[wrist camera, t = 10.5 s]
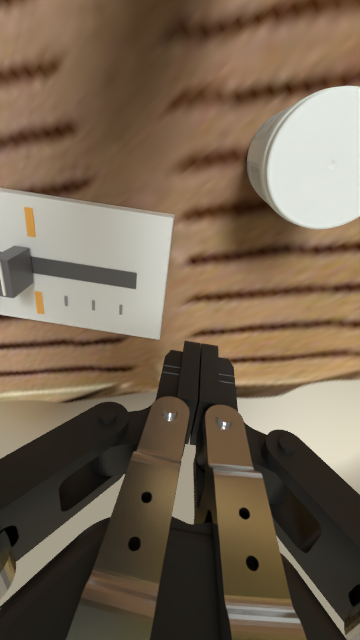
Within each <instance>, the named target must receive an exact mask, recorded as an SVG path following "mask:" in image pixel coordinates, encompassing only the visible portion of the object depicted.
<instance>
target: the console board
mask: <svg viewBox="0 0 360 640" xmlns="http://www.w3.org/2000/svg"><path fill="white" fill-rule="evenodd" d="M174 219H175V215H174V214H167V213H161V212H154V211H148V210H141V209H135V208H128V207H122V206H115V205H109V204H102V203H96V202H89V201H83V200H76V199H70V198H64V197H57V196H51V195H44V194H38V193H31V192H25V191H18V190H12V189H5V188H0V253H1V252H3V251H5V250H7V249H9V248H11V247H13V246H20V247H26V248H29V250H30V258H31V266H32V274H33V282H34V283H33V284H31V285H30V286H29V287H27V288H26V289H25V290H24V291H22V292H21V293H20V294H19V295H17V296H16V297H15V298H8V297H1V296H0V315H6V316H12V317H19V318H25V319H31V320H37V321H44V322H50V323H56V324H63V325H69V326H75V327H82V328H88V329H94V330H100V331H107V332H113V333H119V334H126V335H132V336H138V337H145V338H151V339H157V340H159V339H160V335H161V330H162V321H163V313H164V304H165V296H166V287H167V279H168V270H169V262H170V253H171V245H172V236H173V228H174Z"/></svg>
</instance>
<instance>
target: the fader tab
mask: <svg viewBox="0 0 360 640" xmlns="http://www.w3.org/2000/svg"><path fill="white" fill-rule="evenodd" d="M33 283H34V282H33V274H32V266H31V258H30V250H29V248H26V247H20V246H13V247H11V248H9V249H7V250H5V251H3V252H1V253H0V296H1V297H8V298H15V297H16V296H17V295H19V294H20V293H21V292H22V291H24V290H25V289H26V288H27V287H29V286H30V285H31V284H33Z"/></svg>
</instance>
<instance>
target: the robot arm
mask: <svg viewBox="0 0 360 640" xmlns="http://www.w3.org/2000/svg"><path fill="white" fill-rule="evenodd" d="M200 347H201V348H200ZM190 433H191V435H190ZM189 438H190V444H191V445H196V454H195V458H194V463H193V472H194V525H191V524H187V523H185V522H183V521H181V520H179V519H177V518H174V517H172V511H173V506H174V500H175V494H176V489H177V483H178V478H179V472H180V466H181V459H182V456H183V451H184V447H185V444H188V442H189ZM123 474H125V477H124V480H123V483H122V486H121V489H120V492H119V495H118V498H117V501H116V504H115V506H114V509H113V513H112V515H111V517H109V518H106V519H104V520H101V521H99V522H97V523H95V524H93V525H92V526H90V527H89V528H87V529H86V530H84V531H83V532H82V533H81V534H80V535H78V536H77V537H76V538H75V539H74V540H73V541H72V542H71V543H70V544H69V545H68V546H66V547H65V548H64V549H63V550H62V551H61V552H60V553H59V554H58V555H56V556H55V557H54V558H53V559H52V560H51V561H50V562H49V563H48V564H47V565H46V566H44V567H43V568H42V569H41V570H40V571H39V572H38V573H37V574H36V575H34V576H33V577H32V578H31V579H30V580H29V581H28V582H27V583H26V584H25V585H24V586H22V587H21V588H20V589H19V590H18V591H17V592H16V593H15V594H14V595H12V596H11V597H10V598H9V599H8V600H7V601H6V602H5V603H4V604H3V605H2V606H0V640H360V495H359V494H358V493H357V492H356V491H355V490H354V489H353V488H352V487H351V486H350V485H348V484H347V483H346V482H345V481H344V480H343V479H342V478H341V477H340V476H339V475H338V474H337V473H336V472H335V471H334V470H332V469H331V468H330V467H329V466H328V465H327V464H326V463H325V462H324V461H323V460H322V459H321V458H320V457H318V456H317V455H316V454H315V453H314V452H313V451H312V450H311V449H310V448H309V447H308V446H307V445H306V444H305V443H304V442H302V441H301V440H300V439H299V438H298V437H297V436H295V435H294V434H292V433H290V432H288V431H284V430H274V431H271V432H270V433H269V434H268V435H266V434H263V433H261V432H259V431H256V430H254V429H252V428H251V427H249V426H248V425H246V424H245V423H244V421H243V418H242V416H241V415H240V414H239V413H238V408H237V398H236V388H235V378H234V367H233V366H232V364H231V363H230V361H229V360H228V359H225V358H219V357H218V346H215V345H208V344H201V343H195V342H189V341H185V342H184V348H183V352H181V351H174V350H171V351H170V352H169V353H168V354H167V355H166V356H165V360H164V364H163V369H162V374H161V378H160V383H159V388H158V392H157V397H156V400H155V402H154V403H153V404H152V405H151V406H149V407H148V408H146V409H144V410H140V411H133V412H128V411H127V410H126V408H124V407H123V406H122V405H121V404H118V403H115V402H104V403H100V404H98V405H95V406H94V407H92V408H90V409H88V410H87V411H85V412H83V413H81V414H80V415H78V416H76V417H74V418H72V419H71V420H69V421H67V422H65V423H64V424H62V425H60V426H58V427H56V428H55V429H53V430H51V431H49V432H47V433H46V434H44V435H42V436H40V437H39V438H37V439H35V440H33V441H31V442H30V443H28V444H26V445H24V446H22V447H21V448H19V449H17V450H16V451H14V452H12V453H10V454H8V455H6V456H5V457H3V458H1V459H0V599H1V598H2V597H3V595H5V593H6V592H7V590H8V589H9V587H10V586H11V584H12V582H13V579H14V576H15V572H16V561H18V560H19V559H20V558H21V557H23V556H24V555H25V554H26V553H28V552H29V551H30V550H31V549H33V548H34V547H35V546H36V545H38V544H39V543H40V542H41V541H43V540H44V539H45V538H46V537H48V536H49V535H50V534H52V533H53V532H54V531H55V530H57V529H58V528H59V527H60V526H62V525H63V524H64V523H65V522H66V521H68V520H69V519H70V518H71V517H73V516H74V515H75V514H77V513H78V512H79V511H80V510H82V509H83V508H84V507H85V506H87V505H88V504H89V503H90V502H92V501H93V500H94V499H95V498H97V497H98V496H99V495H100V494H102V493H103V492H104V491H105V490H107V489H108V488H109V487H110V486H112V485H113V484H114V483H115V482H117V481H118V480H119V479H120V478H121V477H122V476H123ZM276 535H277V537H278V538H279V539H280V540H281V542H282V543H283V544H284V546H285V547H286V548H287V549H288V551H289V552H290V553H291V555H292V556H293V557H294V558H295V559H296V561H297V562H298V564H299V565H300V566H301V567H302V569H303V570H304V571H305V573H306V574H307V575H308V576H309V578H310V579H311V580H312V581H313V583H314V584H315V585H316V587H317V588H318V589H319V590H320V592H321V593H322V594H323V596H324V597H325V598H326V600H327V601H328V602H329V603H330V605H331V606H332V607H333V608H334V609H335V611H336V612H337V614H338V615H339V616H340V618H341V619H342V620H343V621H344V631H345V636H346V638H345V637H344V635H343V634H342V633H341V631H340V630H339V628H338V627H337V626H336V624H335V623H334V622H333V620H332V619H331V617H330V616H329V615H328V613H327V612H326V611H325V609H324V608H323V606H322V605H321V604H320V602H319V601H318V600H317V598H316V597H315V595H314V594H313V593H312V591H311V590H310V589H309V587H308V586H307V584H306V583H305V581H304V580H303V579H302V577H301V576H300V575H299V573H298V572H297V570H296V569H295V568H294V567H293V566H292V564H291V563H290V562H289V561H288V560H287V559H286V558H285V556H283V555H282V554H281V553H280V550H279V545H278V541H277V537H276Z"/></svg>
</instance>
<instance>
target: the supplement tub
mask: <svg viewBox="0 0 360 640" xmlns="http://www.w3.org/2000/svg"><path fill="white" fill-rule="evenodd" d="M247 172H248V177H249V180H250V183H251V185H252V187H253V188H254V190H255V191H256V193H257V194H258V195H259V196H260V197H261V198H262V199H263V200H264V201H265V202H266V203H267V204H268V205H269V206H270V207H271V208H272V209H273V210H274V211H275V212H277V213H278V214H279V215H280V216H281V217H283V218H284V219H286V220H287V221H289V222H291V223H293V224H296V225H299V226H301V227H305V228H309V229H329V228H334V227H338V226H341V225H344V224H346V223H349V222H351V221H353V220H355V219H356V218H358V217H359V216H360V87H358V86H341V87H333V88H328V89H324V90H321V91H318V92H316V93H314V94H312V95H310V96H308V97H306V98H304V99H302V100H300V101H298V102H297V103H295V104H293V105H291V106H290V107H288V108H286V109H284V110H283V111H281V112H279V113H277V114H275V115H274V116H272V117H271V118H270V119H268V120H267V121H266V122H265V123H264V124H263V125H262V126H261V127H260V129H259V130H258V131H257V133H256V134H255V136H254V138H253V140H252V142H251V144H250V147H249V151H248V156H247Z"/></svg>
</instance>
